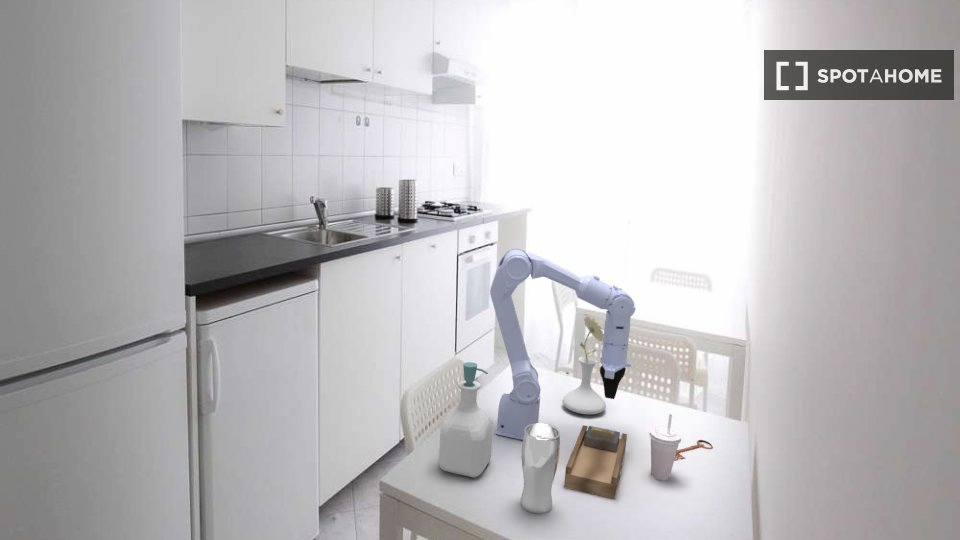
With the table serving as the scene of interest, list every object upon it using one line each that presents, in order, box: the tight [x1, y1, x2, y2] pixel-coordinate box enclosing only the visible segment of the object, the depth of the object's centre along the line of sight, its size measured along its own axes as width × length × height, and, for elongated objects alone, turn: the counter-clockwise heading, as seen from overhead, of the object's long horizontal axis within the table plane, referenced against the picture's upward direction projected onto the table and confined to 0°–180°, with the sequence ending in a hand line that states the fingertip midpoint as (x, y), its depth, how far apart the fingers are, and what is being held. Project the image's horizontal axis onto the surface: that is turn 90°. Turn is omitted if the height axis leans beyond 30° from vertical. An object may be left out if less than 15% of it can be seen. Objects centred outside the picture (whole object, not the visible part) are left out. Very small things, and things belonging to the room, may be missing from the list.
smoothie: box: [648, 413, 682, 481], centre depth 119 cm, size 6×6×14 cm
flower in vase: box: [562, 314, 607, 415], centre depth 150 cm, size 13×11×25 cm
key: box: [674, 439, 714, 462], centre depth 132 cm, size 6×1×15 cm
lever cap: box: [584, 425, 621, 452], centre depth 127 cm, size 7×6×3 cm
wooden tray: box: [563, 424, 628, 500], centre depth 122 cm, size 10×20×4 cm, turn 160°
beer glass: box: [519, 422, 561, 515], centre depth 107 cm, size 7×7×15 cm
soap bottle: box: [438, 361, 494, 478], centre depth 118 cm, size 10×10×23 cm
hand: (609, 397), depth 134 cm, fingers closed
